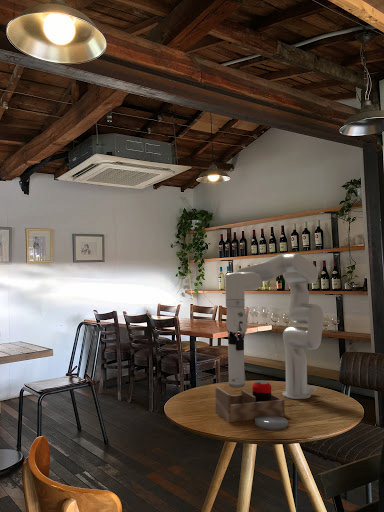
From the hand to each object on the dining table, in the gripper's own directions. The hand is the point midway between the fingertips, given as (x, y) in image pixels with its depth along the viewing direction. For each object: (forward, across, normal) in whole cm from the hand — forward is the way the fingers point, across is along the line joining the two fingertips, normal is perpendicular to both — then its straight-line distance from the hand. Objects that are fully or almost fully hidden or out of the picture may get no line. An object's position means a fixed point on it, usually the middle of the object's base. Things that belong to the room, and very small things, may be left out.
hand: (236, 348), depth 172 cm
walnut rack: (+26, 0, -5) cm, 27 cm away
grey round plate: (+26, -14, -7) cm, 31 cm away
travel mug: (+15, 0, 0) cm, 15 cm away
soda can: (+27, 0, -11) cm, 29 cm away
